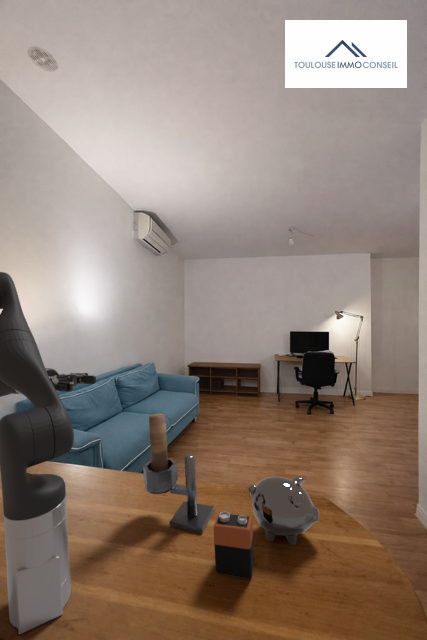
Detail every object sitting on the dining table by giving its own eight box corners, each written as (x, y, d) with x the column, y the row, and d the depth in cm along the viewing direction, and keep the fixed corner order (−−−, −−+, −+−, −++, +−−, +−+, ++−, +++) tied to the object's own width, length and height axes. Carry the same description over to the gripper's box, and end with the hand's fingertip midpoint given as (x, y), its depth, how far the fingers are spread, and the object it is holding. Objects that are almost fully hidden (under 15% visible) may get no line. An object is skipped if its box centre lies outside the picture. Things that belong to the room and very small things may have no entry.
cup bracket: (140, 521, 73) (136, 458, 73) (156, 501, 80) (153, 444, 80) (202, 533, 68) (199, 465, 68) (213, 511, 75) (210, 450, 75)
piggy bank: (320, 560, 59) (317, 501, 59) (244, 544, 64) (241, 489, 64) (320, 522, 69) (318, 472, 69) (255, 511, 74) (253, 464, 74)
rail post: (171, 482, 74) (167, 416, 74) (155, 487, 72) (151, 420, 72) (165, 475, 78) (162, 412, 78) (150, 480, 76) (146, 415, 76)
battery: (220, 556, 61) (218, 506, 61) (254, 561, 59) (252, 510, 59) (215, 574, 57) (212, 521, 57) (251, 581, 55) (249, 525, 55)
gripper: (11, 373, 78) (61, 374, 73) (56, 364, 92) (101, 364, 87) (13, 402, 79) (63, 405, 73) (57, 389, 92) (102, 390, 87)
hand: (84, 383), depth 80 cm, fingers open, 8 cm apart
